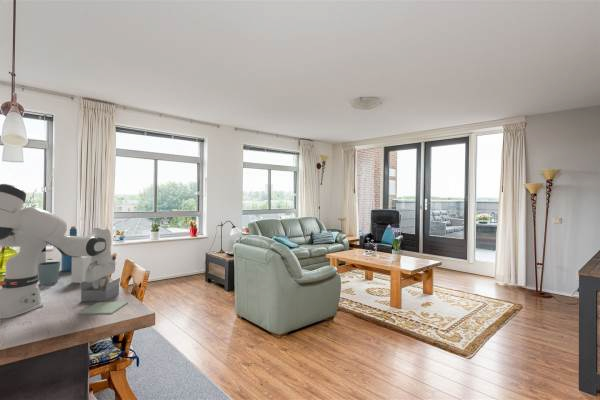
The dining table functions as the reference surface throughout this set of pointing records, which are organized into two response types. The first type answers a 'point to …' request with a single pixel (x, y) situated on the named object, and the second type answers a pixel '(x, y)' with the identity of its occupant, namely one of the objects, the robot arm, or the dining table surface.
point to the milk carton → (79, 268)
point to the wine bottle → (67, 260)
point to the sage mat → (103, 308)
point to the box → (102, 284)
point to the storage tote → (91, 295)
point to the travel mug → (41, 259)
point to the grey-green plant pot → (48, 273)
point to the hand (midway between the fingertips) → (100, 286)
